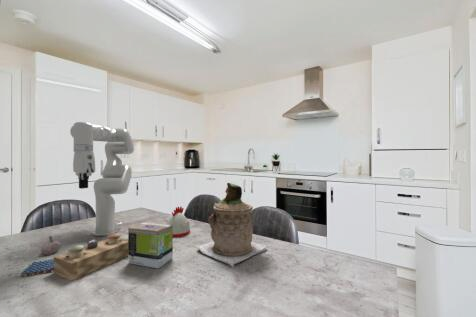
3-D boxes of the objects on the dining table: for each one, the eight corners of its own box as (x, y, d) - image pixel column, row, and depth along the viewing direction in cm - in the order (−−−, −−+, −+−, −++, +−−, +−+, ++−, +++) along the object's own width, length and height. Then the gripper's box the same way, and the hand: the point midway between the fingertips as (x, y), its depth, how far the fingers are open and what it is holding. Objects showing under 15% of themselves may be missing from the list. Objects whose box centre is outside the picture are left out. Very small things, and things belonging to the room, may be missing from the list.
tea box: (173, 258, 94) (173, 224, 94) (157, 269, 84) (157, 231, 85) (145, 253, 99) (145, 220, 99) (127, 263, 89) (127, 227, 89)
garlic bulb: (48, 257, 96) (48, 238, 96) (35, 255, 97) (35, 237, 97) (65, 250, 103) (65, 233, 103) (52, 248, 105) (52, 232, 105)
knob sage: (79, 264, 87) (79, 244, 87) (86, 266, 85) (86, 246, 85) (65, 269, 82) (65, 248, 82) (72, 272, 80) (72, 251, 80)
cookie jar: (268, 249, 103) (268, 181, 103) (231, 269, 85) (231, 186, 85) (231, 237, 120) (231, 178, 120) (194, 251, 102) (193, 182, 102)
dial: (91, 245, 93) (91, 238, 93) (99, 245, 93) (99, 239, 93) (85, 248, 90) (85, 242, 90) (93, 249, 89) (93, 242, 89)
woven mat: (32, 266, 88) (32, 261, 88) (64, 261, 92) (64, 256, 92) (17, 279, 79) (17, 273, 79) (54, 273, 83) (54, 268, 83)
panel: (114, 249, 104) (114, 236, 104) (131, 254, 98) (131, 240, 98) (53, 273, 82) (53, 257, 82) (71, 280, 77) (71, 263, 77)
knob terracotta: (115, 249, 100) (115, 232, 100) (122, 251, 98) (122, 234, 98) (104, 254, 96) (104, 236, 96) (111, 256, 94) (111, 237, 94)
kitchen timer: (195, 231, 129) (194, 206, 129) (176, 239, 117) (176, 210, 117) (178, 227, 136) (178, 203, 136) (159, 234, 125) (159, 207, 125)
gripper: (101, 148, 103) (101, 188, 103) (82, 149, 109) (82, 186, 109) (84, 148, 96) (84, 190, 96) (65, 149, 103) (65, 188, 103)
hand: (83, 188), depth 103 cm, fingers closed
